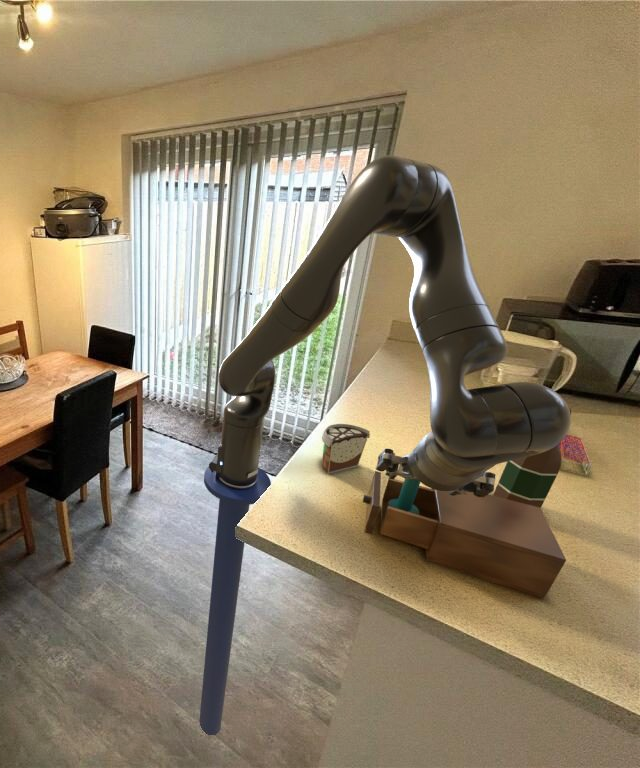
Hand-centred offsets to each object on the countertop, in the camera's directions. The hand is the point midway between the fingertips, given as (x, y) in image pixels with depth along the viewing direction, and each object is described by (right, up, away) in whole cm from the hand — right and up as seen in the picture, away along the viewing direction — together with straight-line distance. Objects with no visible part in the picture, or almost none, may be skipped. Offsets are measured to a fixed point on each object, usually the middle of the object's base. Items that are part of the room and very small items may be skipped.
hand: (420, 481), depth 68 cm
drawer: (+5, -12, +11) cm, 17 cm away
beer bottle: (+33, -10, +17) cm, 38 cm away
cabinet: (+15, -15, +6) cm, 22 cm away
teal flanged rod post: (+4, -10, +11) cm, 16 cm away
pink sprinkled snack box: (+62, +1, +39) cm, 74 cm away
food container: (+2, -4, +33) cm, 33 cm away
